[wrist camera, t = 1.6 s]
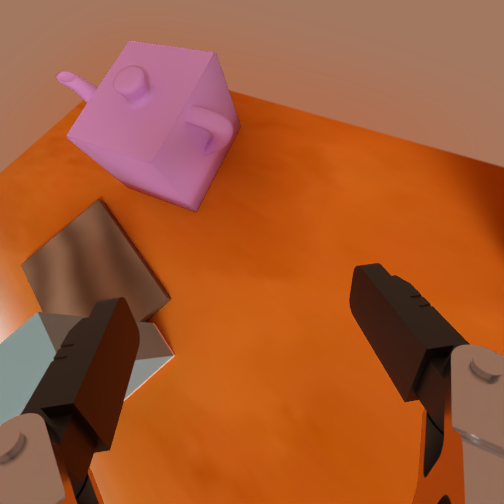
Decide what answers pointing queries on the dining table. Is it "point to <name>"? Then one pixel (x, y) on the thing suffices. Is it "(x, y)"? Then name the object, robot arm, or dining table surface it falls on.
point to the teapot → (158, 121)
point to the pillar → (45, 348)
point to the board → (93, 269)
